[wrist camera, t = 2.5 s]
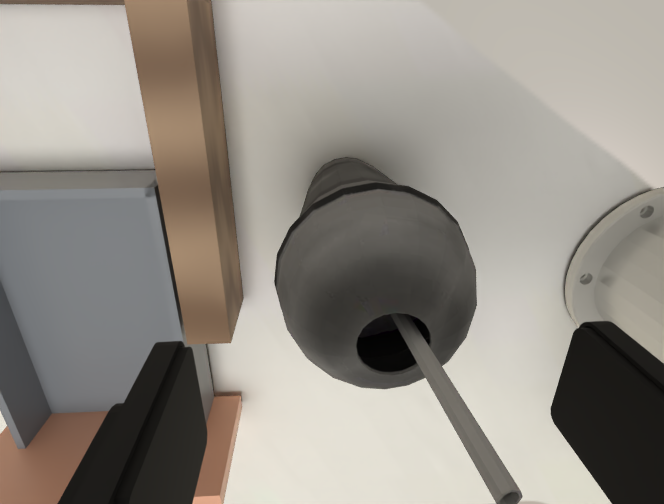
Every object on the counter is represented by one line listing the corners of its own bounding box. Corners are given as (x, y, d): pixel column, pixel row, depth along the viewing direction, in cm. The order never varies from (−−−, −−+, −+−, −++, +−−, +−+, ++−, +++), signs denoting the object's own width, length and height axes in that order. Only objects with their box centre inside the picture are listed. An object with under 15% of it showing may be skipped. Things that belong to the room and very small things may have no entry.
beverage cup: (284, 134, 24) (207, 347, 5) (406, 132, 24) (718, 324, 6) (291, 248, 27) (256, 629, 8) (399, 244, 27) (591, 603, 9)
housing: (243, 298, 28) (230, 342, 23) (-23, 306, 27) (-89, 354, 23) (205, -54, 20) (174, -92, 15) (-179, -59, 19) (-334, -101, 14)
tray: (242, 412, 32) (223, 513, 24) (32, 421, 31) (-53, 529, 24) (212, 169, 24) (170, 212, 16) (-72, 173, 23) (-248, 220, 16)
